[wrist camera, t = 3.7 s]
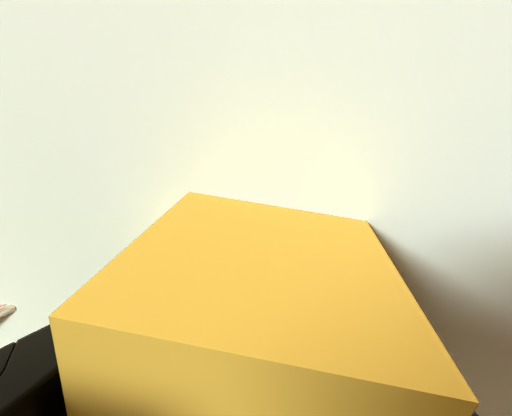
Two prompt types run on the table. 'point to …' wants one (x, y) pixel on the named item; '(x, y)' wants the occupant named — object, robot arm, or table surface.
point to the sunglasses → (6, 310)
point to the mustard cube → (252, 323)
